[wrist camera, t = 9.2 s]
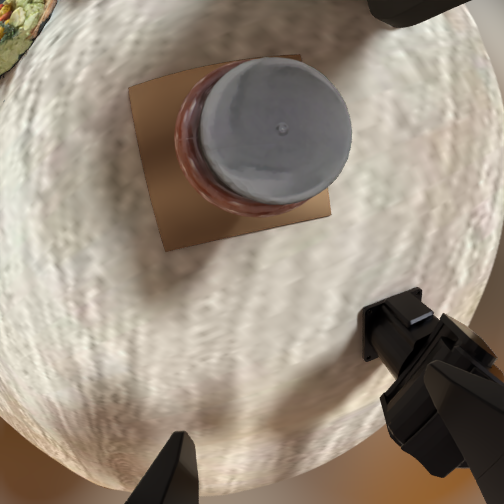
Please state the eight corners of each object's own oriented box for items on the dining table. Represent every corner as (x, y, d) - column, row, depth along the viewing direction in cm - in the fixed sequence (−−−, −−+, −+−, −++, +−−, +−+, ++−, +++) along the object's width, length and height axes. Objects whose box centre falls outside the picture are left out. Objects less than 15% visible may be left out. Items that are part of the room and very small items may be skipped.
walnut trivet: (325, 211, 20) (331, 214, 19) (168, 246, 20) (165, 252, 18) (295, 59, 16) (300, 54, 15) (133, 91, 16) (128, 87, 14)
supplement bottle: (288, 179, 18) (392, 221, 7) (201, 199, 17) (193, 273, 7) (270, 94, 16) (358, 27, 5) (180, 112, 15) (138, 50, 5)
